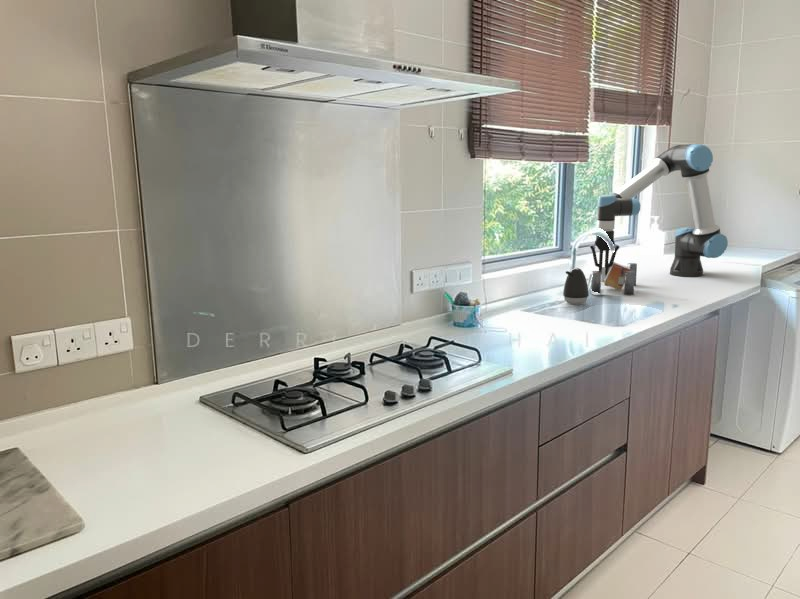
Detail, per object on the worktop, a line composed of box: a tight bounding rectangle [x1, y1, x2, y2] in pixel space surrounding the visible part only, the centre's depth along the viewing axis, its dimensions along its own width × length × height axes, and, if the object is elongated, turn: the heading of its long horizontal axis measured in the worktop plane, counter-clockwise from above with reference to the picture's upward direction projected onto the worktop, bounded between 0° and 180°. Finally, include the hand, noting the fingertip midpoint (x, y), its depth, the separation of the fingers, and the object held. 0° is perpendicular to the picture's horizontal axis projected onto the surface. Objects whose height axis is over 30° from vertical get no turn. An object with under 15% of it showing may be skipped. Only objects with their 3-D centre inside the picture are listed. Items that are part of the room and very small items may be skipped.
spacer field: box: [590, 262, 638, 296], centre depth 289 cm, size 22×24×10 cm
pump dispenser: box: [562, 267, 590, 306], centre depth 265 cm, size 10×10×15 cm
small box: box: [603, 261, 630, 291], centre depth 289 cm, size 8×6×10 cm
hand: (602, 281), depth 291 cm, fingers closed
